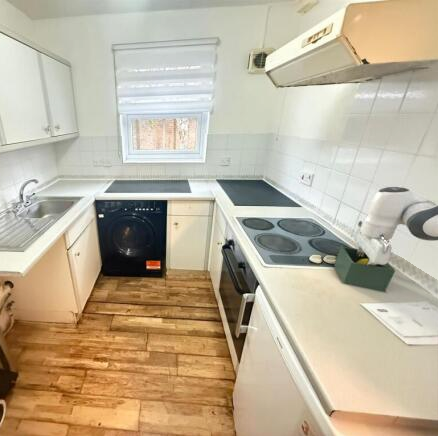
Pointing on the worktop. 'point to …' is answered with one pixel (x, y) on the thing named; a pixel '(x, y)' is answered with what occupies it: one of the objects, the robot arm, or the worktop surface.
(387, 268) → the bin
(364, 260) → the lemon
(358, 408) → the worktop surface
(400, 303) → the worktop surface
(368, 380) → the worktop surface
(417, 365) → the worktop surface
